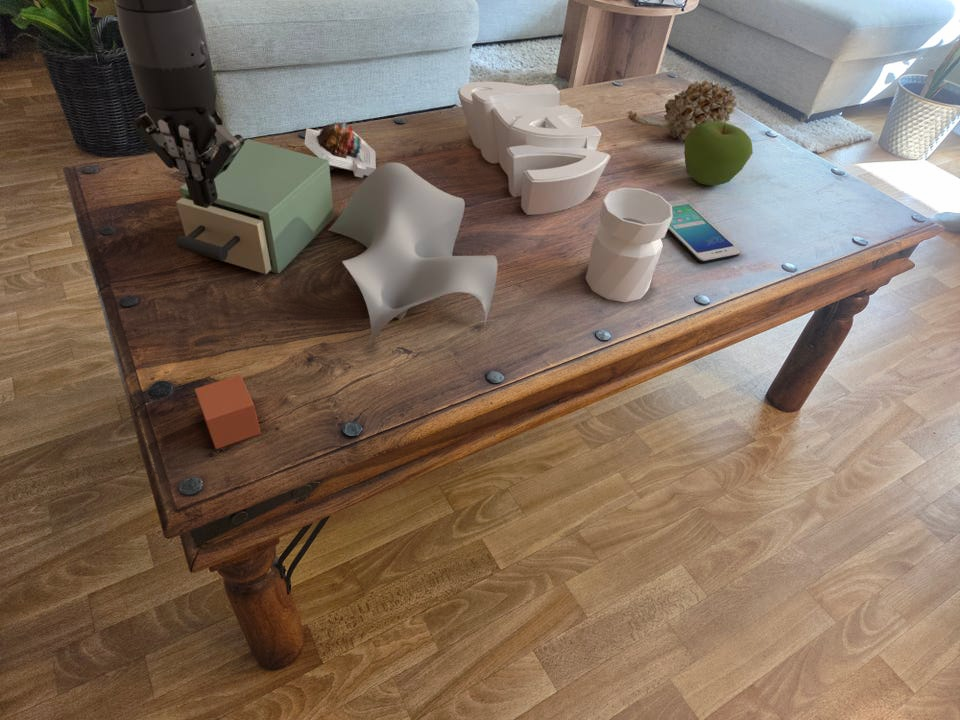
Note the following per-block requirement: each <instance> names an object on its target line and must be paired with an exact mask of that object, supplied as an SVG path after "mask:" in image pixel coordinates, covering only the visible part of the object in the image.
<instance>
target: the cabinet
mask: <svg viewBox="0 0 960 720" xmlns="http://www.w3.org/2000/svg"><path fill="white" fill-rule="evenodd" d="M244 141H245V143H244V145H243V146H242V148H241V149H240V151H239V152H238V154H237V155H236V157H235V158H234V160H233V161H232V163H231V164H230V166H229V167H228V169H227V170H226V171H224V172H222V173H221V174H219V175H218V176H217V177H216V178H215V179H214V181H215V185H216V190H217V194H218V197H217V199H216V200H215V202H214V203H216V204H220V205H223V206H227V207H230V208H234V209H237V210H241V211H244V212H248V213H251V214H255V215H258V216H262V217H264V221H265V227H266V232H267V238H268V244H269V249H270V255H271V260H270V265H271V270H270V271H269V272H272V273H273V274H274V273H275V274H278V275H280V273H281V272H282V271H283V270H284V269H286V268H287V266H288V265H290V263H291V262H292V261H293V260H294V259H295V258H296V257H297V256H299V254H301V252H302V251H303V250H304V249H306V247H307V246H308V245H309V244H310V243H311V242H312V241H313V240H314V239H315V238H316V237H317V236H318V235H319V234H320V233H321V232H322V230H324V229H325V228H326V227H327V226H328V225H329V223H331V222H332V221H333V220H334V218H335V216H334V215H335V214H334V205H333V194H332V193H333V192H332V180H331V171H330V169H329V160H325V159H321V158H318V157H317V156H315V155H309V154H306V153H302V152H299V151H295V150H291V149H287V148H283V147H280V146H276V145H273V144H268V143H265V142H260V141H257V140H253V139H249V138H247V139H246V140H244ZM179 192H180V196H181V197H180V198H185V199H189V200H192V199H191V197H190V195H189V192H188V187H187V184H186V182H184V184H182V185H181V186H180V187H179ZM192 201H193V200H192Z"/></svg>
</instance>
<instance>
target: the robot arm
mask: <svg viewBox="0 0 960 720" xmlns="http://www.w3.org/2000/svg"><path fill="white" fill-rule="evenodd" d="M113 1H114V6H115V8H116V16H117V23H118V28H119V32H120V37H121V40H122V43H123V47H124V50H125V53H126V56H127V61H128V64H129V67H130V70H131V74H132V77H133V81H134V84H135V87H136V91H137V94H138V98H139V99H140V101H141V102H142V103H143V104H144V108H145V113H143V114H141V115H139V116H138V117H136V118H134V119H133V120H132V121H131V123H132V126H133V128H134V129H135V130H136V131H137V133H138V134H139V135H140V136H141V137H142V139H143V140H144V141H145V142H146V143H147V145H148V146H149V147H150V148H151V149H152V151H154V153H155V154H156V155H157V156H158V158H159V159H160V160H161V162H163V163H164V165H165V166H166V167H167V168H169V169H174V168H175V169H177V171H179V173H180V175H181V176H182V177H184V180H185V183H186V184H187V187H188V192H189V195H190V197H191V199H192V200H193V203H194V205H197V206H201V207H204V208H208V207H209V206H210V205H212V204H213V203H214V202H215V200H216V199H217V197H218V194H217V190H216V185H215V181H214V179H215V178H216V177H217V176H218V175H219V174H221V173H222V172H224V171H226V170H227V169H228V167H229V166H230V164H231V163H232V161H233V160H234V158H235V157H236V155H237V154H238V152H239V151H240V149H241V148H242V146H243V145H244V143H245V141H246V140H245V139H244V137H243V136H242V135H241V134H235V135H233V134H232V133H231V132H230V131H228V129H226V128H225V127H224V125H223V124H224V121H223V118H222V115H221V114H220V112H219V110H218V109H217V106H216V100H217V94H218V92H217V91H218V89H217V85H216V84H217V83H216V79H215V75H214V70H213V64H212V60H211V55H210V50H209V44H208V40H207V36H206V31H205V26H204V22H203V19H202V16H201V13H200V9H199V7H198V5H197V1H196V0H113ZM215 140H216V141H215ZM164 145H166V146H167V149H168V150H167V149H166V148H165V146H164ZM215 152H216V153H215ZM214 154H215V155H214Z"/></svg>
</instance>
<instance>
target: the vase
mask: <svg viewBox="0 0 960 720" xmlns="http://www.w3.org/2000/svg"><path fill="white" fill-rule="evenodd" d="M672 217H673V214H672V206H671V205H670V204H669V203H668V201H667V200H666V199H665V198H664V197H662V195H660V194H658V193H654V192H652V191H650V190H646V189H644V188H636V187H620V188H617V189H613V190H610V191H608V193H607V194H606V196H605V197H604V199H602V204H601V207H600V213H599V219H600V224H599V225H598V227H597V230H596V233H595V235H594V239H593V242H592V245H591V249H590V254H589V261H588V266H587V267H588V268H587V272H586V273H585V281H586V282H587V284H588V286H589V288H590V289H591V291H592V292H593V293H596V294H597V295H599V296H600V297H602V298H604V299H605V300H608V301H615V302H621V303H630V302H633V301H637V300H641V299H642V298H643V297H644V296H645V295H646V293H647V292H648V291H649V288H650V287H651V282H652V279H653V275H654V272H655V270H656V268H657V265H658V262H659V260H660V256H661V254H662V250H663V247H664V245H663V242H662V239H663V238H665V237H666V234H667V233H668V232H667V230H668V227H669V225H670V222H671V220H672Z"/></svg>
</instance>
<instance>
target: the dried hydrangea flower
mask: <svg viewBox="0 0 960 720" xmlns="http://www.w3.org/2000/svg"><path fill="white" fill-rule="evenodd" d="M727 88H728V85H726V86H724V85H721V86H720V85H719V82H716V83H715V84H714V83H713V81H712V82H709V81H708V80H704V81H702V82H701V83H700V82H699V81H698V80H696V81H694V82H693V83H691V82H690V83H689V85H688V86H687V88H686V90H681V92H679V93H678V94H677V93H675V94H674V99H673V98H671V99H667V102H666V103H665V104H664V108H665V113H666V114H664V115H663V118H664V119H655V118H649V117H646V116H643V115H640V114H638V113H637V112H634V111H633V110H629V111H625V113H626V114H628V115H627V116H626V118H627V119H628V120H630V121H631V122H633V123H637V124H640V125H643V126H649V127H654V128H665V129H669V135H670V136H671V137H672V138H673V139H677V138H678V139H679V140H680V141H681V142H683V141H685V138H686V137H687V135H688V134H689V132H690V131H691V130H692V129H693V128H694V127H695V126H697V125H700V124H703V123H706V122H710V121H719V122H725V123H727V122H728V121H729V120H730V117H731V114H733V113H735V108H736V106H737V102H735V99H736V96H734V95H733V93H734V92H733V89H730V90H727Z"/></svg>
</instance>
